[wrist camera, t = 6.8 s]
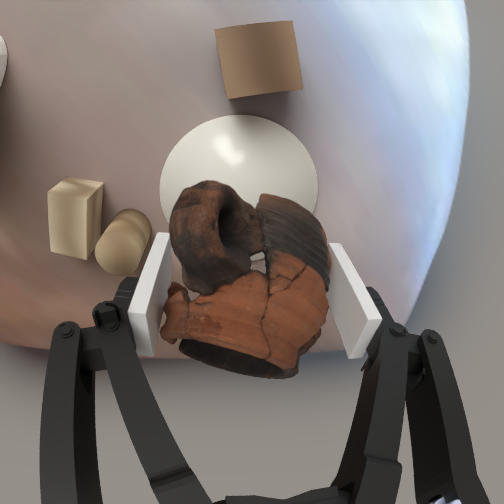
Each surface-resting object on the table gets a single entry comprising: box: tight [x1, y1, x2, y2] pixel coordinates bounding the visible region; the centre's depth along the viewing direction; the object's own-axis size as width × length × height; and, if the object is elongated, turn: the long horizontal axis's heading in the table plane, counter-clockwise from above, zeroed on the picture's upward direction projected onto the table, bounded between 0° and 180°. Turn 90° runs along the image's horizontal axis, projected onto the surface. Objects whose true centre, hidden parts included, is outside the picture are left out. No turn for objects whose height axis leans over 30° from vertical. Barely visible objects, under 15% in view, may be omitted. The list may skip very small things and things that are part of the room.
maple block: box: [48, 177, 104, 260], centre depth 24 cm, size 4×6×4 cm, turn 164°
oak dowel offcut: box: [95, 209, 152, 276], centre depth 25 cm, size 4×4×5 cm
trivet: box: [160, 115, 318, 261], centre depth 26 cm, size 14×14×1 cm
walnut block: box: [214, 21, 303, 99], centre depth 18 cm, size 5×5×5 cm
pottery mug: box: [160, 180, 331, 379], centre depth 16 cm, size 12×10×8 cm
